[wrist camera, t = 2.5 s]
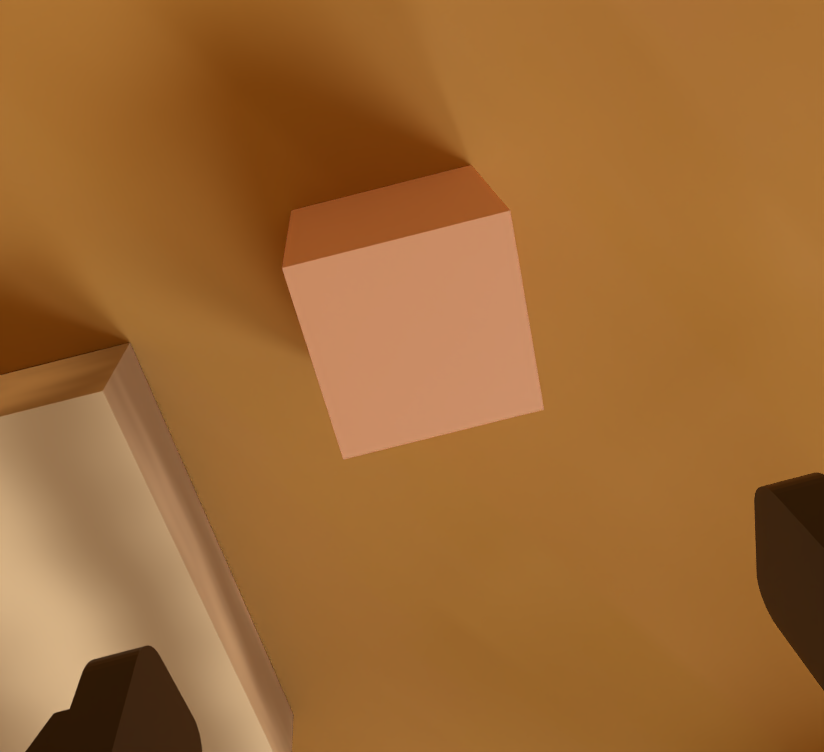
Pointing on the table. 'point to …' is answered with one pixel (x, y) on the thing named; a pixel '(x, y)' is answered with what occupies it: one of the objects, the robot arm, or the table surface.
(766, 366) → the table surface
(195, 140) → the table surface
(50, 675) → the maple base
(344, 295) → the terracotta cube
